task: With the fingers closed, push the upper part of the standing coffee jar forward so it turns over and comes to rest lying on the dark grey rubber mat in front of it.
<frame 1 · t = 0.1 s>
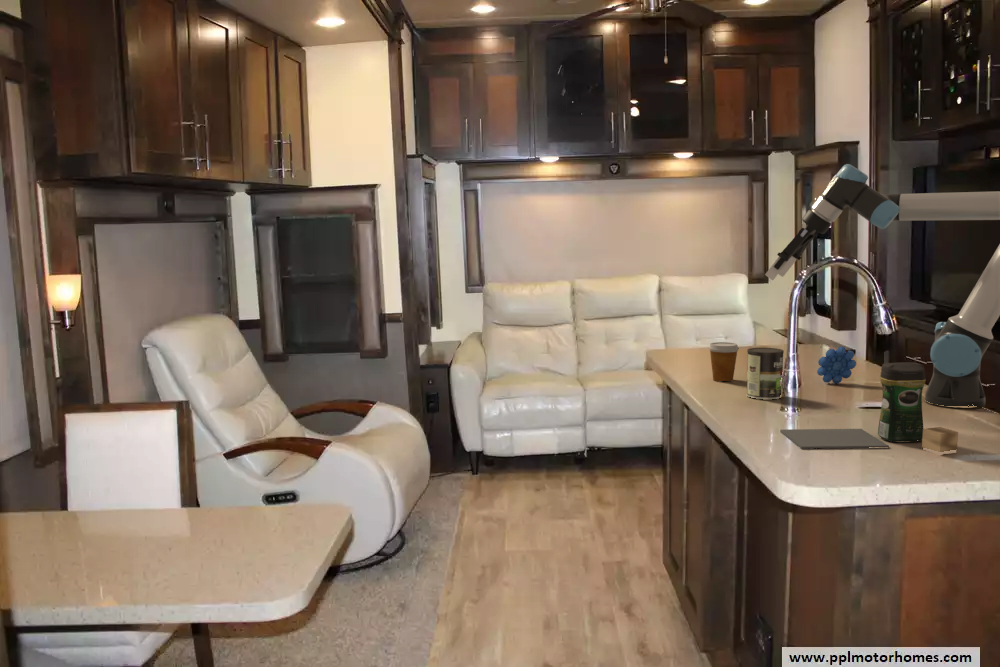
hand: (774, 276, 249), 36 cm above the table, tool tilted 35°, fingers open, 13 cm apart
disposable coffee cup: (723, 380, 281), on the table
mat: (832, 439, 205), on the table
coffee jar: (899, 440, 205), on the table
oak block: (939, 451, 194), on the table
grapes: (835, 383, 273), on the table
coffee can: (764, 397, 255), on the table
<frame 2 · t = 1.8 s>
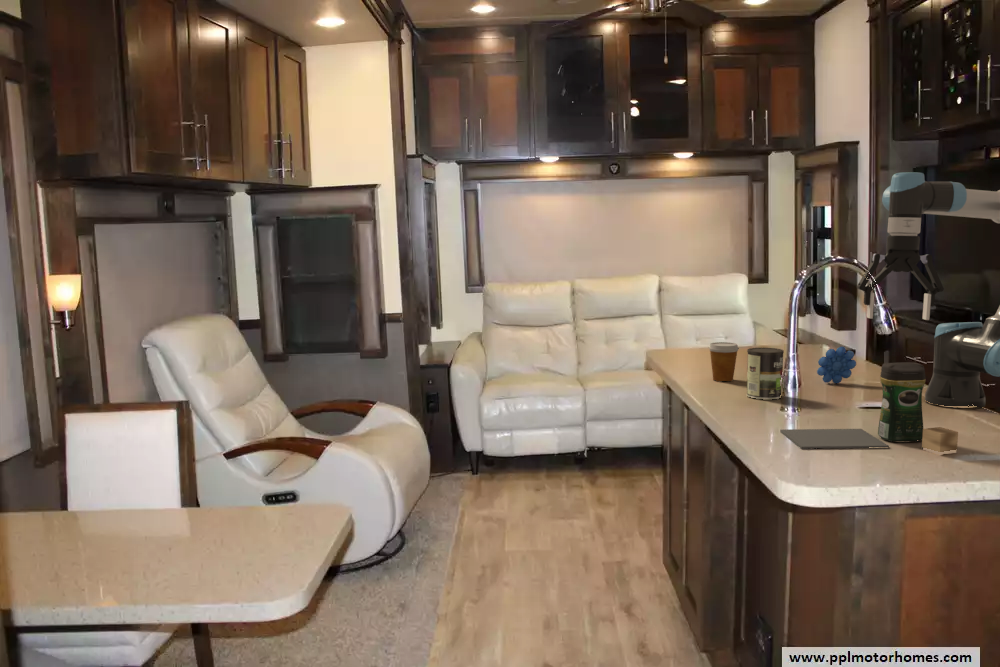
hand: (897, 318, 218), 27 cm above the table, tool pointing down, fingers open, 13 cm apart
nothing on the table moved.
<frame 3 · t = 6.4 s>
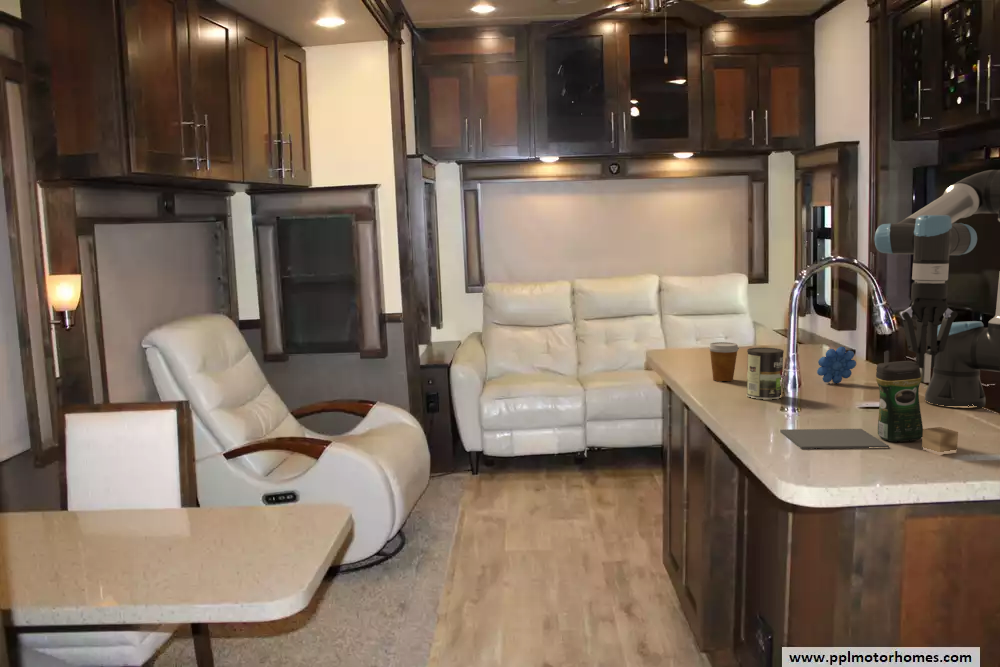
hand: (924, 381, 202), 14 cm above the table, tool pointing down, fingers closed
coffee jar: (899, 438, 205), on the table, touching gripper
everything else where it was.
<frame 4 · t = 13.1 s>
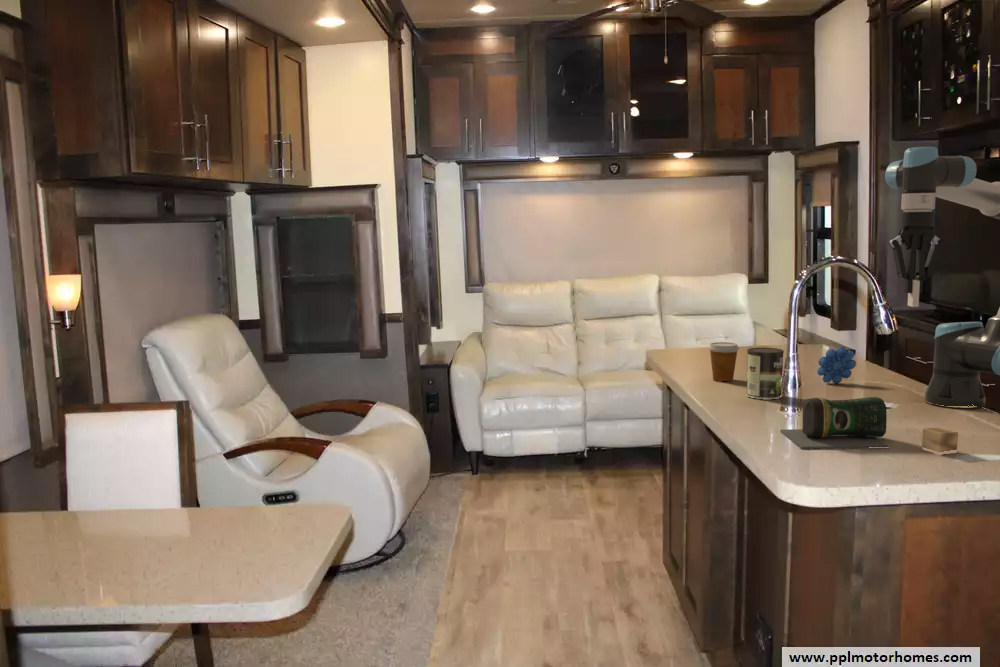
hand: (913, 306, 214), 30 cm above the table, tool pointing down, fingers closed
coffee jar: (882, 417, 205), point 5 cm above the table, touching mat
everything else where it was.
at the end: coffee jar tilted 89°; coffee jar inside the target area (9.9 cm from its centre), point 5.2 cm above the table; the gripper is holding nothing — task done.
